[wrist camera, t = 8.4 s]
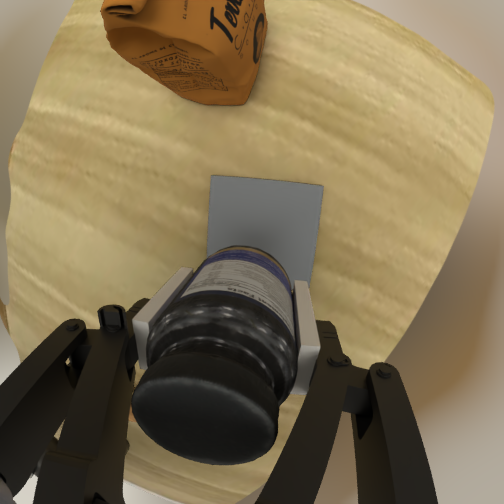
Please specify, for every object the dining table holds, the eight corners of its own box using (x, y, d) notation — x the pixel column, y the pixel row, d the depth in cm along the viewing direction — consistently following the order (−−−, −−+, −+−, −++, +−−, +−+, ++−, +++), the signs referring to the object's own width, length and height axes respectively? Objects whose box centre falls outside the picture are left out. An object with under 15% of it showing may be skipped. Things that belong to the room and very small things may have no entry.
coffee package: (282, 28, 24) (279, -113, 3) (249, 117, 28) (186, 12, 7) (203, 15, 24) (130, -100, 3) (168, 98, 28) (29, 31, 7)
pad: (208, 276, 33) (206, 279, 32) (213, 175, 30) (211, 175, 29) (307, 287, 33) (308, 291, 32) (322, 185, 29) (323, 186, 28)
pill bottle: (244, 345, 19) (214, 485, 8) (178, 286, 18) (86, 404, 7) (312, 289, 17) (342, 436, 7) (241, 220, 16) (174, 313, 6)
